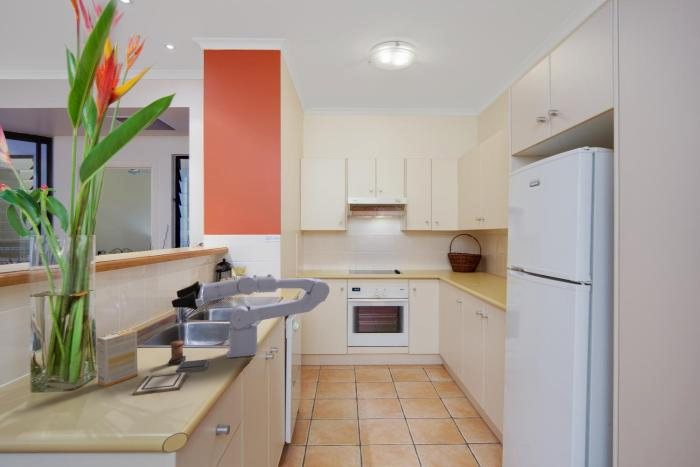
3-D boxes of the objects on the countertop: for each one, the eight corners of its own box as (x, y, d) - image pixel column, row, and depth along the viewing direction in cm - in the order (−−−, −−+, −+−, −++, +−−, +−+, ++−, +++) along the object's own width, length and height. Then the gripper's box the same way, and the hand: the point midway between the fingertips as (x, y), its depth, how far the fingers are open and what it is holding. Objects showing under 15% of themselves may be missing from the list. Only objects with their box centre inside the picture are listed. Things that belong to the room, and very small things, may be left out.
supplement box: (129, 372, 95) (129, 328, 95) (138, 375, 93) (137, 330, 93) (96, 383, 88) (96, 336, 88) (105, 387, 86) (104, 339, 86)
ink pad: (209, 362, 102) (209, 358, 102) (205, 370, 96) (205, 365, 96) (181, 365, 100) (181, 361, 100) (176, 373, 94) (176, 368, 94)
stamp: (185, 359, 105) (185, 339, 105) (182, 364, 101) (182, 343, 101) (172, 360, 104) (171, 340, 104) (168, 365, 100) (168, 345, 100)
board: (188, 373, 94) (188, 370, 94) (179, 389, 85) (179, 386, 85) (146, 377, 92) (146, 375, 92) (132, 395, 82) (132, 392, 82)
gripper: (218, 272, 114) (176, 280, 110) (214, 287, 101) (167, 296, 97) (222, 290, 116) (181, 298, 112) (219, 307, 102) (172, 317, 99)
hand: (174, 299), depth 105 cm, fingers open, 7 cm apart
